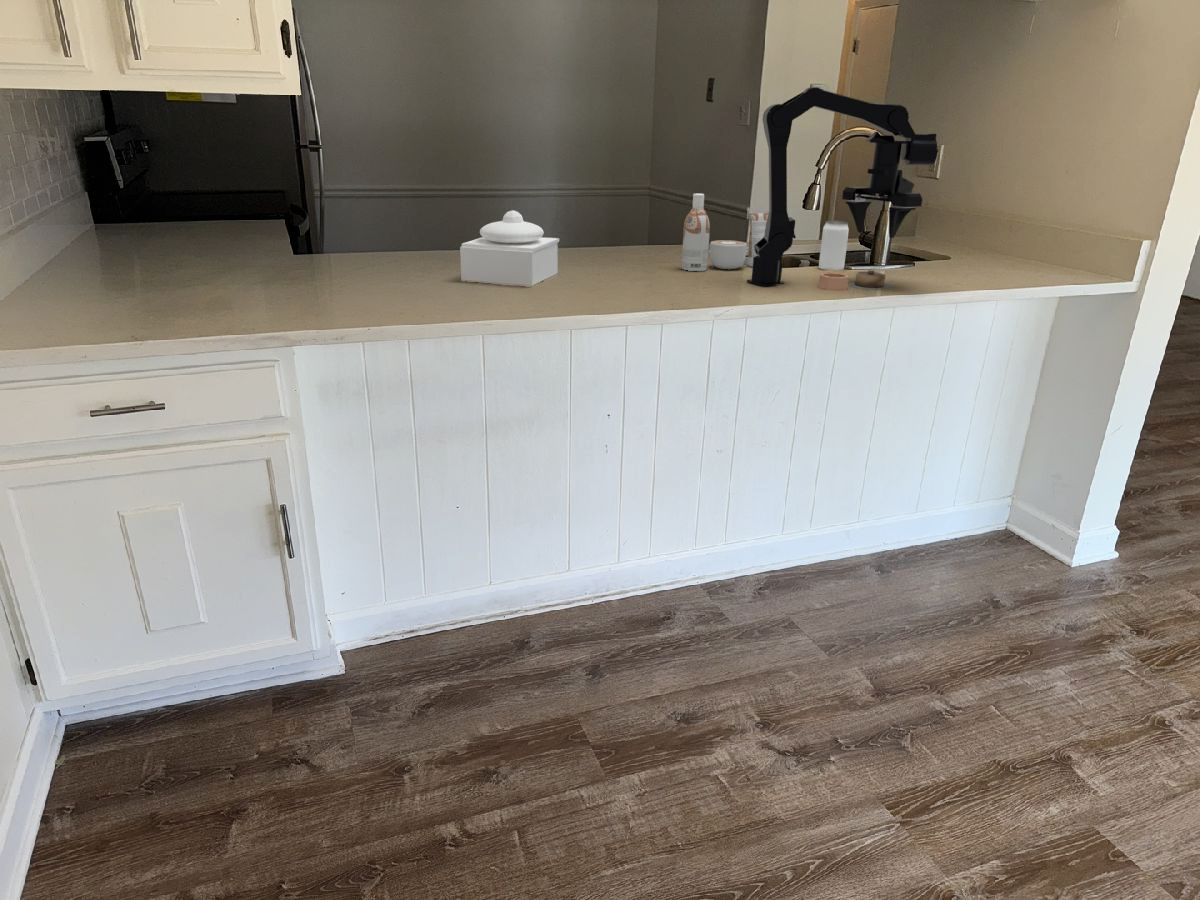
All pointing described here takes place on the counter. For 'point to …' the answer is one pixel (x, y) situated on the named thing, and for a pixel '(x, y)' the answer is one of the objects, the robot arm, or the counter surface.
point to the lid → (870, 279)
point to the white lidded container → (510, 253)
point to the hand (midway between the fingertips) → (875, 235)
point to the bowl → (833, 281)
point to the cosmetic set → (721, 251)
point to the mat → (870, 288)
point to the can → (833, 245)
